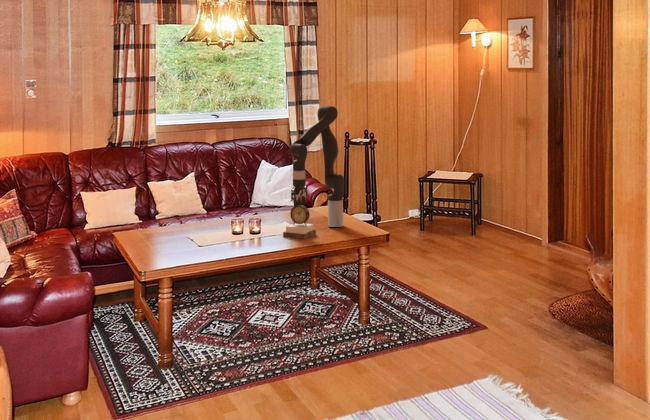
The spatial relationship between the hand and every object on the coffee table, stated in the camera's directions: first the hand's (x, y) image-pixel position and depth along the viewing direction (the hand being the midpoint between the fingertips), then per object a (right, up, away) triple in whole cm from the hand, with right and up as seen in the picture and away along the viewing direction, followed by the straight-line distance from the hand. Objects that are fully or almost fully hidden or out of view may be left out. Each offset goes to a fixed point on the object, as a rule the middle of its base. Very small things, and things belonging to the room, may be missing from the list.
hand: (299, 205), depth 418 cm
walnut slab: (0, -19, +4) cm, 19 cm away
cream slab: (0, -15, +3) cm, 15 cm away
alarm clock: (0, -12, +3) cm, 12 cm away
